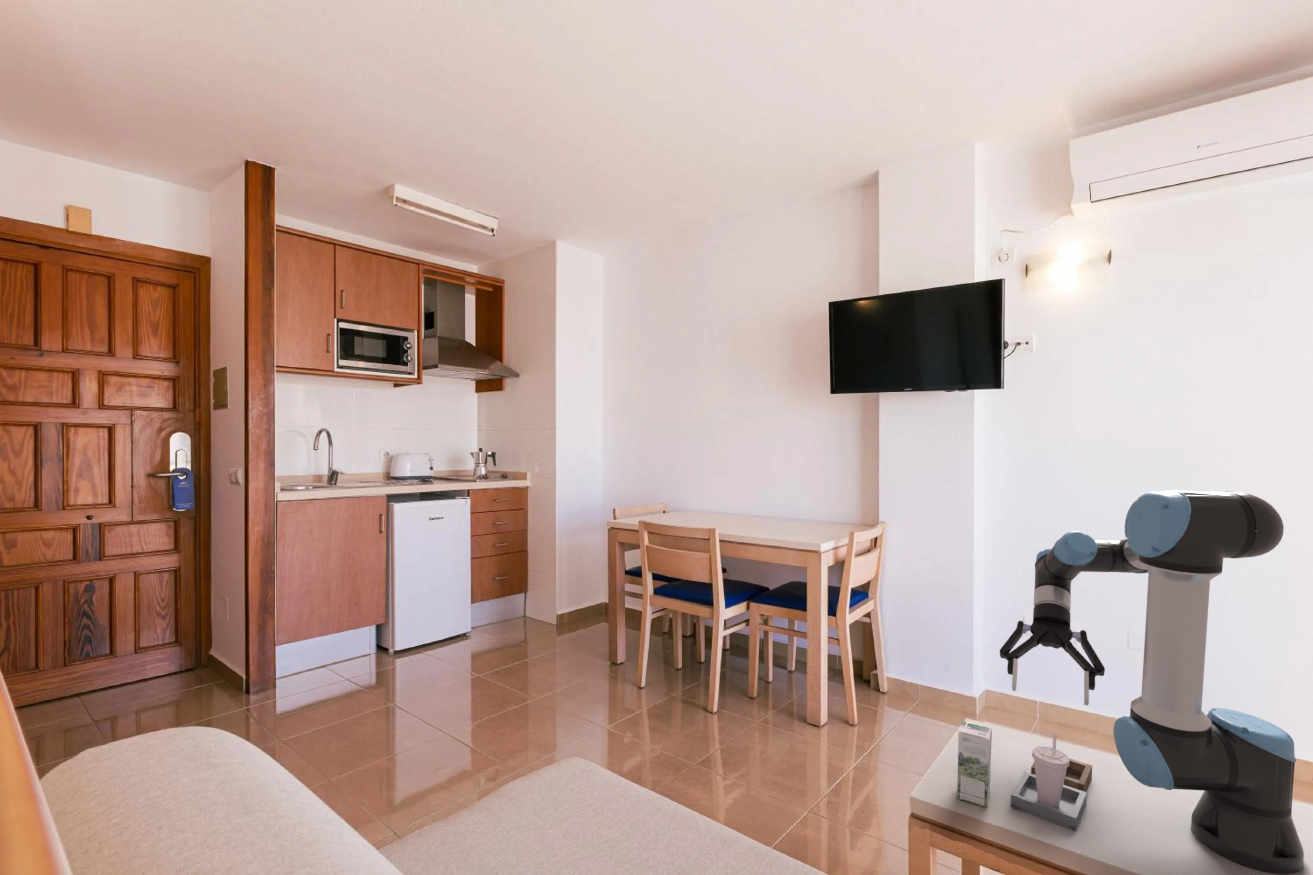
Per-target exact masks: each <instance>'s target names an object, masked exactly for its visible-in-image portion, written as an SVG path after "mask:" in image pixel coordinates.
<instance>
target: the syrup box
mask: <svg viewBox="0 0 1313 875" xmlns="http://www.w3.org/2000/svg"><path fill="white" fill-rule="evenodd" d="M992 734H993V728H992V726H989V725H984V724H980V723H977V722H973V721H972V722H971V721H968V720H963V719H962V720H961V723H960V725H959V728H958V737H957V738H958V740H957V741H958V743H957V778H956V779H957V782H956V783H957V786H956V799H958V800H960V801H963V802H967V803H970V804H974V805H977V806H981V807H983V808H984V807H985V808H988V806H989V801H990V796H991V764H992V763H991V761H992V742H993V741H992V739H993V738H992V737H993V735H992Z"/></svg>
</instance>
